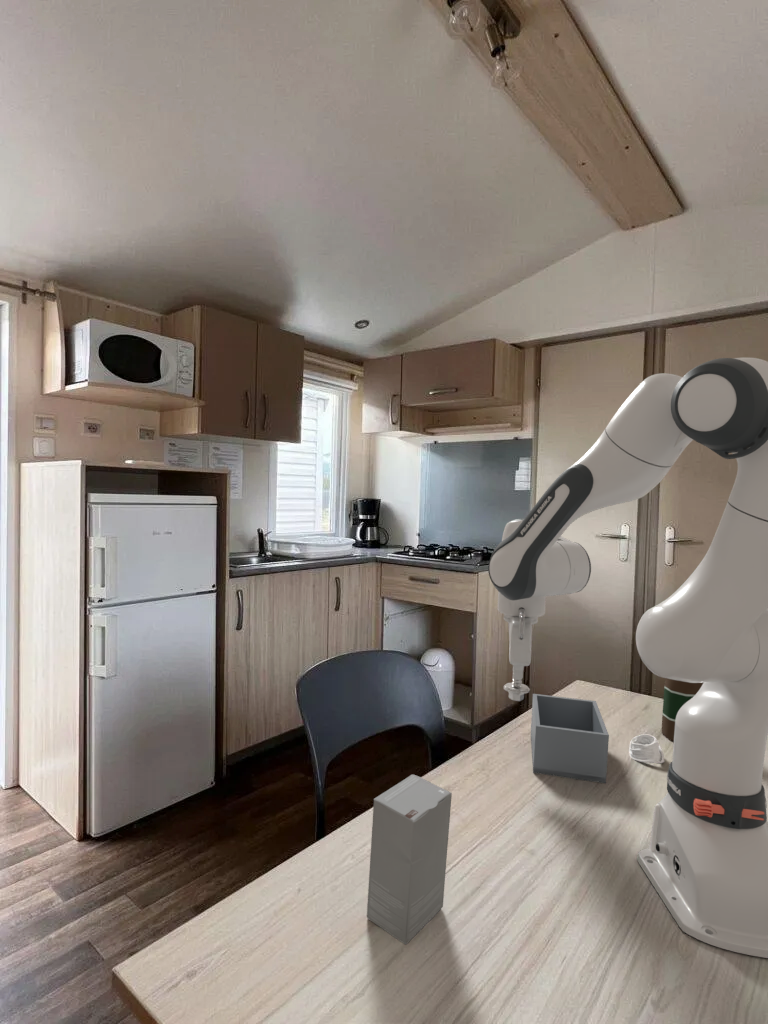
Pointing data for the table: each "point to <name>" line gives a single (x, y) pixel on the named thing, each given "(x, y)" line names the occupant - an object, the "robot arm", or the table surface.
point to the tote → (568, 738)
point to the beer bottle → (675, 702)
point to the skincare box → (408, 856)
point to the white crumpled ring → (646, 749)
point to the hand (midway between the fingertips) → (517, 675)
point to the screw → (516, 689)
